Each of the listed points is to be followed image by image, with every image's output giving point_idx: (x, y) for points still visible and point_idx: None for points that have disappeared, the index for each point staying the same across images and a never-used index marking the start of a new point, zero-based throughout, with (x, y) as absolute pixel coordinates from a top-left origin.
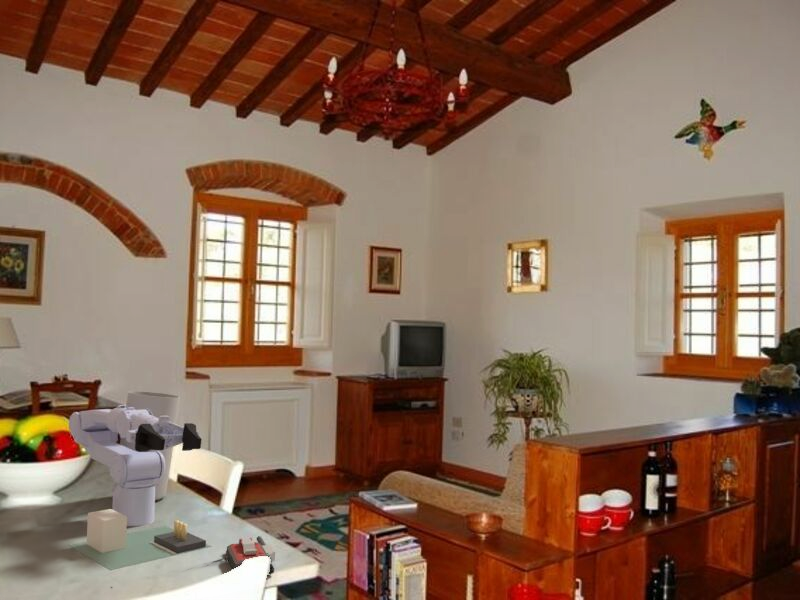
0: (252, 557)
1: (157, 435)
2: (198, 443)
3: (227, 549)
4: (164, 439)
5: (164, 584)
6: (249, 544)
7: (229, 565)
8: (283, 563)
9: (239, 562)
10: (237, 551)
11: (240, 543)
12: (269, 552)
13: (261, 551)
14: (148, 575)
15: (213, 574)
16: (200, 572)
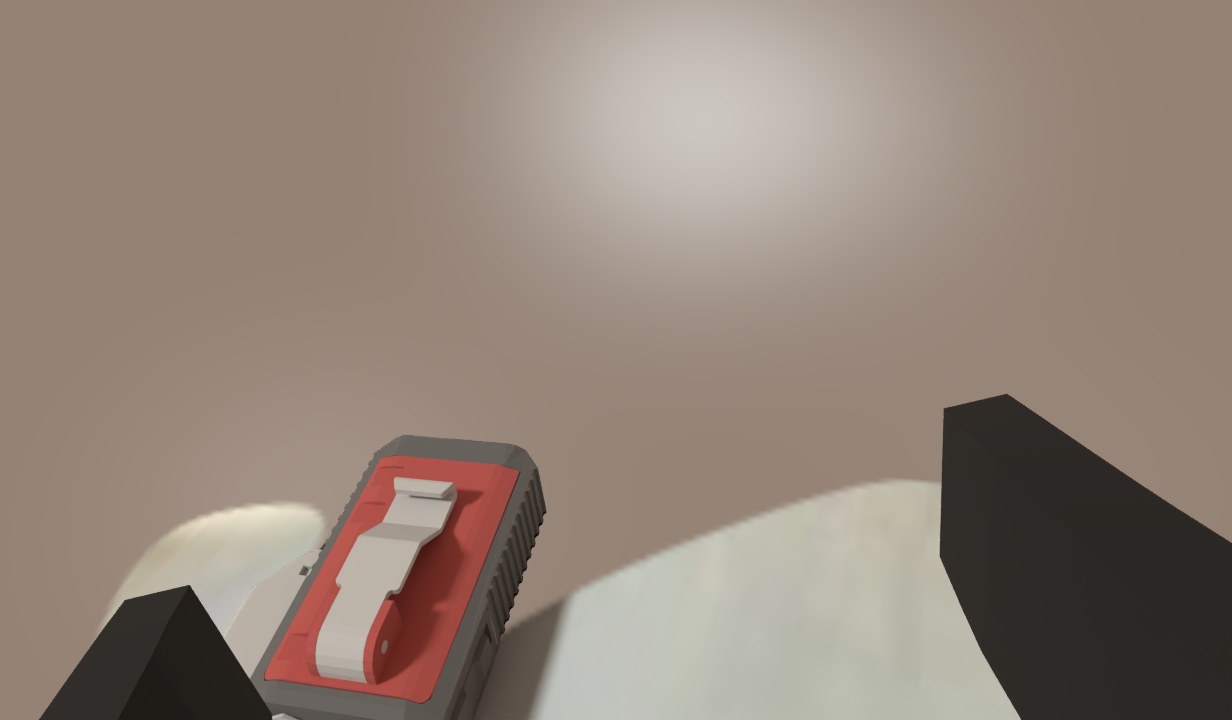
0: (437, 478)
1: (1147, 492)
2: (218, 647)
3: (453, 700)
4: (956, 407)
5: (866, 544)
6: (388, 535)
7: (496, 648)
8: (254, 583)
9: (516, 461)
10: (452, 577)
11: (393, 624)
12: (288, 578)
13: (345, 540)
14: (941, 681)
15: (617, 574)
16: (667, 620)
